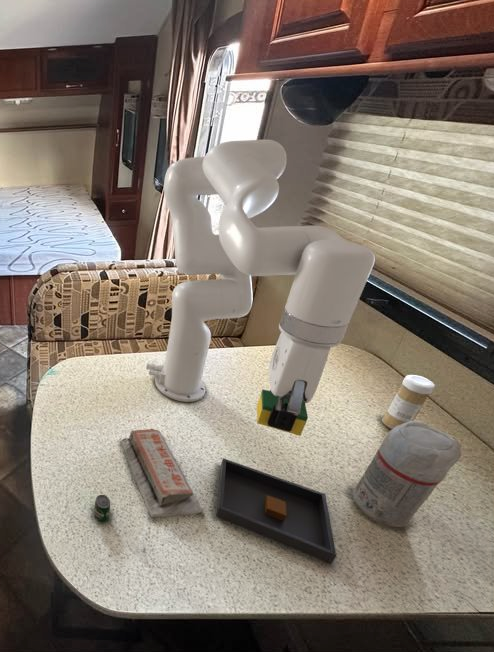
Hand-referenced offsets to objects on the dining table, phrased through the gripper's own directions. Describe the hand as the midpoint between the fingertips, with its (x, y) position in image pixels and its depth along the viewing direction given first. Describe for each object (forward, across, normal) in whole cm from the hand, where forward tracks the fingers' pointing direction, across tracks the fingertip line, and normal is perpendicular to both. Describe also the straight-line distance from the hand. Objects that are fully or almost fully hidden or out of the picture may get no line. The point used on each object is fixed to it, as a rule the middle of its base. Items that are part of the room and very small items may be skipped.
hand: (278, 416), depth 62 cm
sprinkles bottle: (+22, -36, +30) cm, 52 cm away
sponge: (+1, 0, 0) cm, 1 cm away
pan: (+22, +1, +4) cm, 22 cm away
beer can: (+22, +16, -24) cm, 37 cm away
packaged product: (+22, +2, -16) cm, 28 cm away
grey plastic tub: (+22, -9, +22) cm, 32 cm away
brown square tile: (+22, +1, +4) cm, 22 cm away
